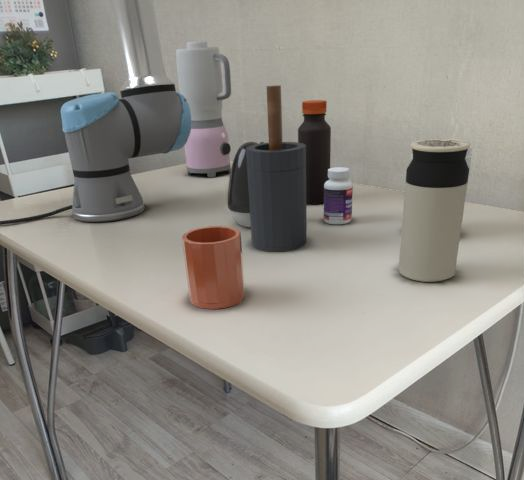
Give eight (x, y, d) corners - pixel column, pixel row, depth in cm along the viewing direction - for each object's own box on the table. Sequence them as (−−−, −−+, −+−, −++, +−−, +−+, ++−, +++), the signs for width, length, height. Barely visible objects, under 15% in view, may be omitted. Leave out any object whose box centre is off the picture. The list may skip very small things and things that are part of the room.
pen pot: (185, 309, 71) (177, 244, 67) (195, 287, 78) (187, 226, 73) (242, 308, 71) (237, 243, 66) (246, 286, 77) (242, 225, 73)
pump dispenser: (289, 218, 106) (287, 137, 99) (268, 233, 98) (264, 146, 91) (244, 214, 110) (238, 136, 103) (219, 229, 102) (212, 145, 95)
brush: (265, 242, 91) (258, 87, 79) (267, 234, 95) (260, 85, 83) (291, 242, 91) (287, 86, 79) (291, 234, 95) (288, 84, 83)
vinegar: (326, 205, 113) (327, 102, 104) (295, 204, 115) (293, 103, 106) (332, 197, 119) (334, 99, 109) (303, 196, 121) (302, 100, 111)
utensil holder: (250, 252, 90) (243, 153, 82) (253, 235, 98) (248, 143, 90) (307, 251, 89) (306, 150, 81) (306, 233, 97) (305, 140, 89)
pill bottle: (350, 225, 100) (352, 172, 95) (322, 225, 101) (322, 172, 96) (352, 217, 105) (354, 166, 100) (325, 217, 106) (325, 166, 101)
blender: (178, 176, 148) (161, 43, 132) (205, 167, 157) (192, 42, 141) (223, 180, 140) (211, 40, 125) (249, 171, 149) (241, 39, 133)
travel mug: (421, 287, 73) (435, 150, 65) (387, 269, 80) (396, 142, 71) (466, 276, 76) (486, 143, 67) (430, 259, 82) (444, 136, 74)
